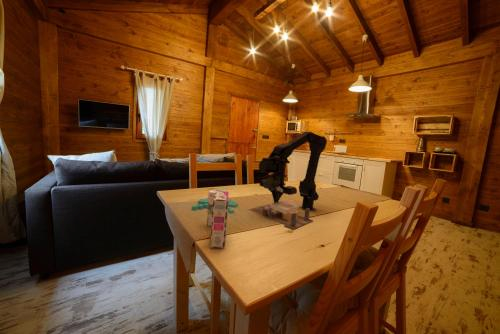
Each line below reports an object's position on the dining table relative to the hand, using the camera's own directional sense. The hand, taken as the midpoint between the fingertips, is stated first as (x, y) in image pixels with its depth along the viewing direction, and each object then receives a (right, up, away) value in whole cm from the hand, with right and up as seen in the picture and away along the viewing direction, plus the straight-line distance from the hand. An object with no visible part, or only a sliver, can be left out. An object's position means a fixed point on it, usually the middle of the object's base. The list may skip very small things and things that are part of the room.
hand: (275, 203), depth 107 cm
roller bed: (+2, -6, -1) cm, 6 cm away
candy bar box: (-24, -8, -30) cm, 39 cm away
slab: (+4, -2, -3) cm, 5 cm away
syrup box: (-26, -6, -17) cm, 32 cm away
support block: (+6, -6, -5) cm, 10 cm away
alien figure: (-29, -3, +7) cm, 30 cm away
